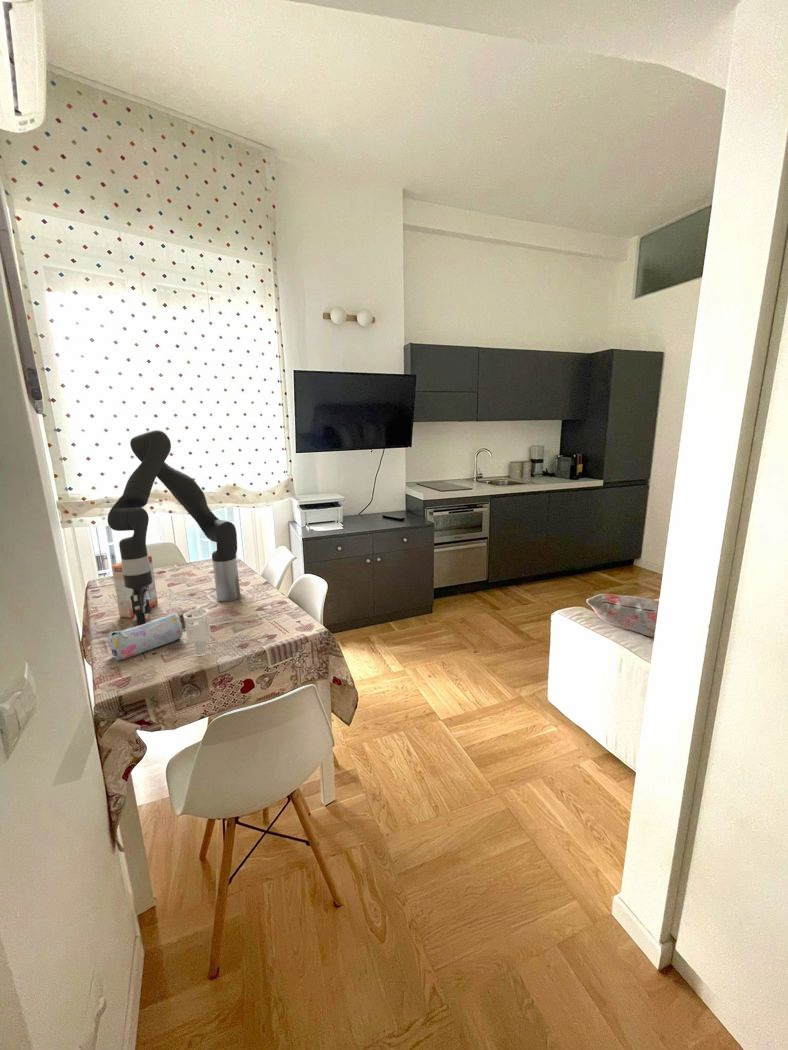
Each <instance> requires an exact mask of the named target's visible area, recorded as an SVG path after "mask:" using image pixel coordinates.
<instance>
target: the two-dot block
mask: <svg viewBox="0 0 788 1050" xmlns="http://www.w3.org/2000/svg"><path fill="white" fill-rule="evenodd" d="M191 610H192V609H191V608H190V609H182V610H177V611H176V614H177V615H178V616H179V617H180V618H181V620H180V619H179V620H180V622H181V624H182V628H183V627H185V620H184V617H183V615H184V614H185V613H186V612H188V611H191ZM192 615H193V614H191V615H189V616H187V617H188V618H193V616H192Z"/></svg>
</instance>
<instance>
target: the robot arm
mask: <svg viewBox="0 0 788 1050" xmlns="http://www.w3.org/2000/svg"><path fill="white" fill-rule="evenodd" d="M129 444H130V445H129V446H130V448H131V449H130V450H132V453H133V454H134V456H135V457H136V458H137V460H139V461H140V462H141V463H140V464H139V465H138V466H137V468H136V469H135V470H134V471H133V472H132V474H130V476H129V478H128V480H127V481H126V484H125V487H124V490H123V493H122V495H121V496H120V497H118V500H116V502H115V503H114V504H113V506H112V507H111V508H110V510H109V512H108V513H107V524H108V526H109V528H110V529H111V530H113V531H117V532H118V531H119V532H127V531H128V532H129V531H133V535H132V536H129V537H125V538H122V539H121V540H120V541H119V542H118V543H119V552H120V558H121V562H122V571H123V577H124V583H125V587H126V588H131V589H133V593H132V595H131V602H132V609H133V614H136V618H137V624H138V625H142V624H145V623H146V619H145V614H149V615H150V613H152V612H151V608H150V603H149V602H150V597H151V595H150V590H149V585H150V584H151V583H152V575H151V568H150V562H149V558H148V556H149V555H148V551H147V550H148V549H147V534H148V533H147V532H148V527H149V519H150V518H149V514H148V512H147V510H146V509H145V508H143V507H145V506H146V505H147V504H148V501H149V498H150V495H151V492H152V489H153V486H154V484H155V480H156V479H158V480H159V481H160V482H161V483H162V484H163V485H164V487H165V488H166V489H167V490H168V491H169V492H170V493H171V495H172V496H173V497H174V499H176V501H177V502H178V503H179V504H180V505H181V506H182V507H183V508H184V510H185V511H186V513H188V515H190V516H191V518H192V519H194V521H195V522H196V523H197V525H198V526H199V528H200V530H201V531H202V532H203V534H204V536H205V537H206V538H207V539H208V540H209V541H211V542H214V543H216V550H214V551H213V552H212V554H211V559H212V561H211V562H212V568H213V576H214V584H215V593H216V594H215V595H216V599H217V601H219V602H224V601H225V602H232V601H235V600H238V599H241V598H242V597H241V588H240V580H239V569H238V559H237V552H238V536H237V530H236V526H235V524H234V523H233V522H231V521H228V520H224V519H220V518H218V517H217V516H216V515H215V514H214V513H213V512H212V510H211V509H210V507H209V505H208V502H207V498H206V496H205V493H204V491H203V489H202V488H201V487H200V486H199V485H198V483H197V482H196V481H195V480H194V479H193V478H192V477H191V476H190V475H188V474H185V473H184V472H182V471H179V470H177V469H175V468H174V467H172V466H170V465H169V464H168V463H166V462H165V461H166V460H167V458H168V456H169V455H170V452H171V449H172V444H171V440H170V438H169V436H168V435H167V434H166V433H165V432H164V431H162V430H159V429H155V430H150V431H146V432H144V433H142V434H139V435H136V436H133V437H132V438H131V440H130V443H129ZM137 607H140V610H137Z"/></svg>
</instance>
